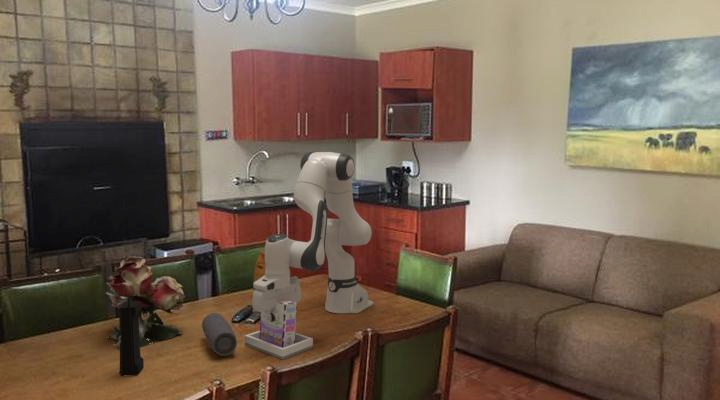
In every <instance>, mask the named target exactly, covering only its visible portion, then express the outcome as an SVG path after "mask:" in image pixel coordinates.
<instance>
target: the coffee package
mask: <svg viewBox="0 0 720 400" xmlns="http://www.w3.org/2000/svg"><path fill="white" fill-rule="evenodd" d="M258 254H259V255H258V257H257V260H256V263H255V266H254V273H253V274H254V275H253V283H254V282H255V281H257V280H258V279H260V278H261V277H263V276H264V275H265V269H266V263H265V250H263V249H261V250H260V251H259V253H258ZM254 290H255V288H254V287H253V291H254Z"/></svg>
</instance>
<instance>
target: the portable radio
mask: <svg viewBox="0 0 720 400" xmlns="http://www.w3.org/2000/svg"><path fill="white" fill-rule="evenodd" d="M129 300H130V299H128V301H126V302H125V303H124V304H123V305H122V306H121V307H120V308H118V321H119V327H120V332H121V343H120V349H119V375H120V376H121V377H124V375H133V376H138V374H139V373H141V372H142V371H141V370H143V369H144V367H145V366H144V358H143V357H142V356H141V347H140V338H139V316H138V312H139V311H140V310H141V302H140V301H129ZM139 375H140V374H139Z"/></svg>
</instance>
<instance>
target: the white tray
mask: <svg viewBox="0 0 720 400" xmlns="http://www.w3.org/2000/svg"><path fill="white" fill-rule="evenodd" d="M244 345H245V346H247V347H249V348H252V349H255V350H257V351H260V352H262V353H265V354H267V355H269V356H272V357H275V358H277V359H279V360H282V361H283V360H285V359H288V358H290V357H293V356H296V355H298V354H300V353H303V352H304V353H305V352H307V351H308V350H312V349H313V348H314V338H313V337H309V336H307V335H304V334H302V333H299V332H295V344H292V345H289V346H287V347H284V348H282V347H279V346H276V345H274V344H271V343H268V342H266V341H263V340H260V330H258V331H255V332H254V331H253V332H251V333H248V334H245V335H244Z"/></svg>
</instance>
